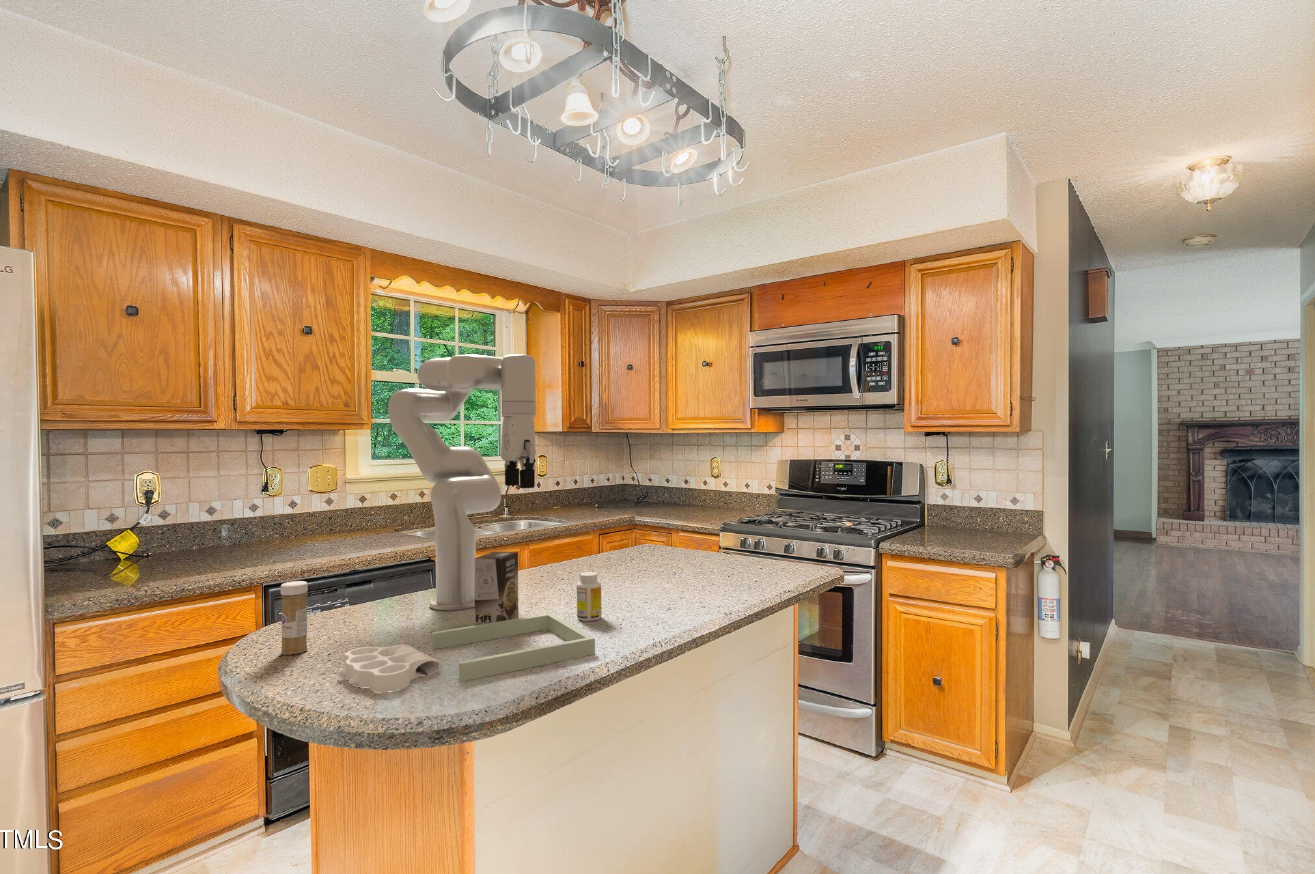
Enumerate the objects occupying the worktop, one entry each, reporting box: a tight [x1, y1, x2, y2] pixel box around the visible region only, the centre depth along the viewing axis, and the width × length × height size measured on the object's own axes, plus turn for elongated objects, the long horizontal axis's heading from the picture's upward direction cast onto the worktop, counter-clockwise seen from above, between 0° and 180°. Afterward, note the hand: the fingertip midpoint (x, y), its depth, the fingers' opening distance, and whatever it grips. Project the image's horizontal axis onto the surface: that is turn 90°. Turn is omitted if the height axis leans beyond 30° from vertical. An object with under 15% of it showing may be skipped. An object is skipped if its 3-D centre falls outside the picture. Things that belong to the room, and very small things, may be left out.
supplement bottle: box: [576, 571, 603, 622], centre depth 147 cm, size 6×6×10 cm
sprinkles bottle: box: [280, 580, 308, 656], centre depth 126 cm, size 5×5×14 cm
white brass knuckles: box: [335, 644, 441, 692], centre depth 114 cm, size 3×18×15 cm
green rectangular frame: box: [430, 612, 596, 683], centre depth 125 cm, size 21×25×3 cm
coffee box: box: [474, 551, 520, 626], centre depth 140 cm, size 9×6×16 cm
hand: (519, 486), depth 145 cm, fingers open, 9 cm apart
